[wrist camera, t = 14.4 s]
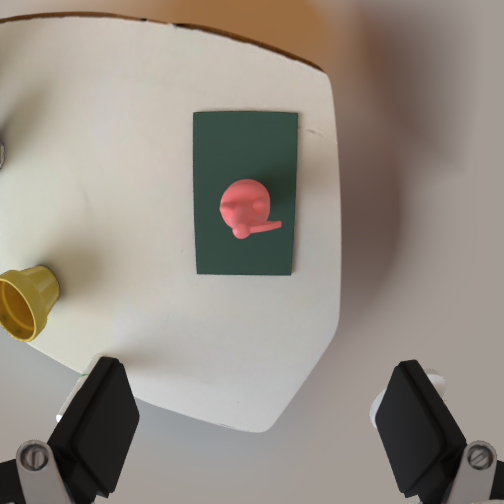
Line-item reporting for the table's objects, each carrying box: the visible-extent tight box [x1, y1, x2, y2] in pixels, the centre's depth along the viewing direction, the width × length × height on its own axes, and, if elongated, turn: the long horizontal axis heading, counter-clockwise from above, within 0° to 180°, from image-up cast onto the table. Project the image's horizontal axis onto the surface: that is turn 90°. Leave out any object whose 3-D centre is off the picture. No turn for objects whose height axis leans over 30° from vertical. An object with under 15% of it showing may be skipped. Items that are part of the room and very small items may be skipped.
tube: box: [56, 354, 106, 423], centre depth 37 cm, size 4×4×15 cm
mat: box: [193, 111, 298, 275], centre depth 34 cm, size 12×20×1 cm, turn 179°
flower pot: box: [0, 266, 59, 342], centre depth 34 cm, size 10×10×10 cm
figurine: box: [220, 179, 281, 239], centre depth 27 cm, size 5×5×15 cm
